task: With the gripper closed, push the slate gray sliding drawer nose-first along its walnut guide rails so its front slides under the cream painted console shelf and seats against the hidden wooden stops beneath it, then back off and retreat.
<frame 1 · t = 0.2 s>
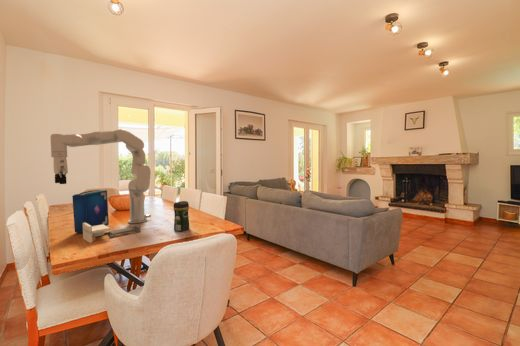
hand: (60, 183, 153), 31 cm above the table, fingers open, 9 cm apart
slate gray sliding drawer: (124, 233, 159), on the table
book: (91, 229, 166), on the table
guide rails: (122, 233, 158), on the table
coffee jar: (181, 230, 166), on the table
console shelf: (98, 238, 148), on the table
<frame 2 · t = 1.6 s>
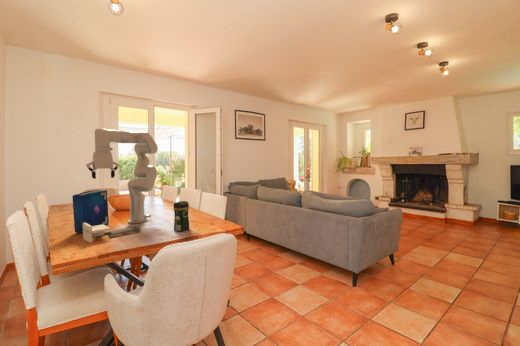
hand: (103, 178, 153), 34 cm above the table, fingers open, 9 cm apart
nothing on the table moved.
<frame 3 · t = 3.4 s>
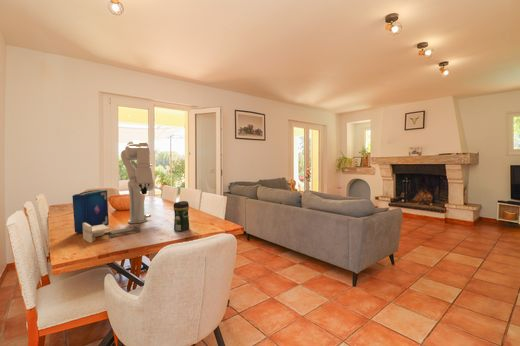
hand: (144, 194, 167), 23 cm above the table, fingers closed
nothing on the table moved.
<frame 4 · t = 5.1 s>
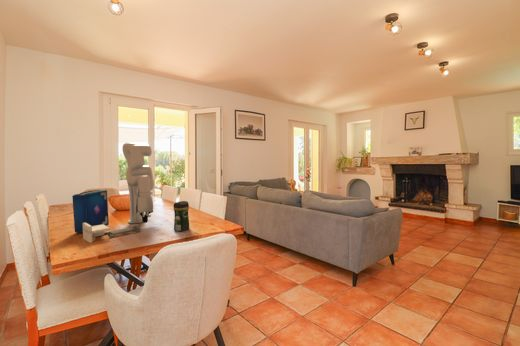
hand: (145, 222, 167), 4 cm above the table, fingers closed
nothing on the table moved.
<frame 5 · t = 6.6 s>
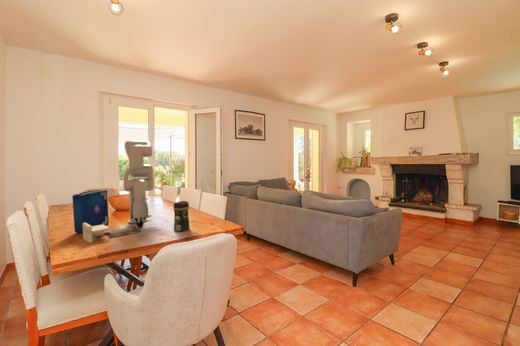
hand: (140, 228, 165), 1 cm above the table, fingers closed
nothing on the table moved.
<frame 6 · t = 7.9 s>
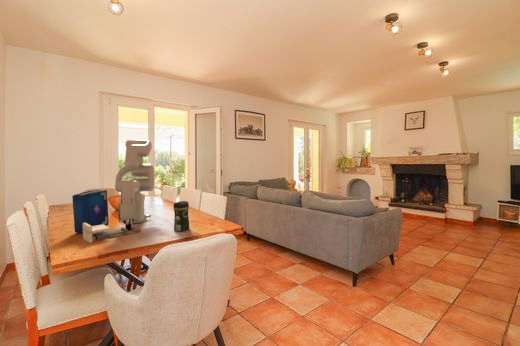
hand: (128, 230, 160), 1 cm above the table, fingers closed
slate gray sliding drawer: (111, 236, 153), on the table, touching gripper
everything else where it was.
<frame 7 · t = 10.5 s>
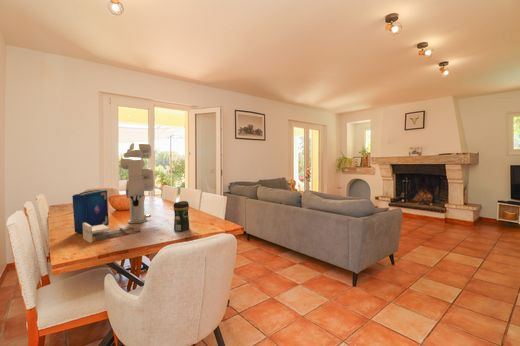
hand: (135, 206, 165), 15 cm above the table, fingers closed
slate gray sliding drawer: (109, 236, 152), on the table
everything else where it was.
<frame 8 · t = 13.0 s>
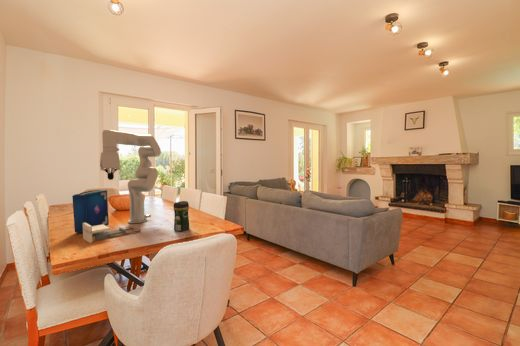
hand: (110, 179, 159), 33 cm above the table, fingers closed
nothing on the table moved.
at the end: slate gray sliding drawer 0.2 cm from the target spot on the console shelf, point -0.5 cm above the console shelf's base; slate gray sliding drawer tilted 0° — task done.
